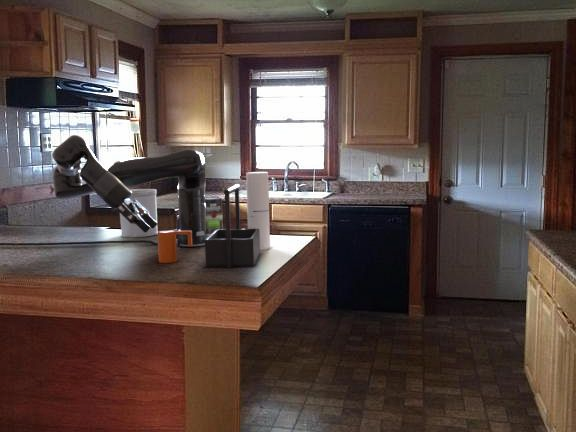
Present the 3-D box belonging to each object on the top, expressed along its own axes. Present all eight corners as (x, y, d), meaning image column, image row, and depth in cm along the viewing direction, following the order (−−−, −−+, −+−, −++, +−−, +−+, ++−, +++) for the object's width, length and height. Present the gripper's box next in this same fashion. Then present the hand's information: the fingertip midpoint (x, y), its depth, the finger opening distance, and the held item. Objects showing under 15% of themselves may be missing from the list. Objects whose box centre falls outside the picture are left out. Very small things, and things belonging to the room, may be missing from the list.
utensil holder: (139, 238, 240) (137, 192, 238) (111, 236, 248) (109, 191, 246) (166, 233, 252) (164, 189, 250) (139, 231, 260) (137, 188, 258)
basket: (205, 268, 178) (201, 189, 176) (217, 253, 202) (215, 184, 200) (253, 267, 178) (251, 188, 175) (260, 252, 202) (258, 183, 199)
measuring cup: (156, 263, 188) (155, 232, 187) (161, 259, 194) (159, 230, 193) (190, 262, 188) (189, 232, 187) (194, 259, 193) (192, 229, 192)
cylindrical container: (267, 250, 207) (265, 172, 204) (245, 249, 208) (243, 173, 205) (272, 246, 214) (270, 171, 211) (251, 246, 215) (249, 172, 212)
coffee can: (227, 234, 245) (226, 198, 243) (201, 236, 240) (200, 199, 239) (217, 231, 254) (216, 196, 253) (192, 233, 249) (191, 197, 248)
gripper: (110, 197, 197) (149, 234, 197) (95, 201, 182) (136, 241, 183) (127, 180, 196) (165, 216, 197) (112, 183, 182) (154, 222, 182)
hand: (151, 228), depth 190 cm, fingers open, 8 cm apart
